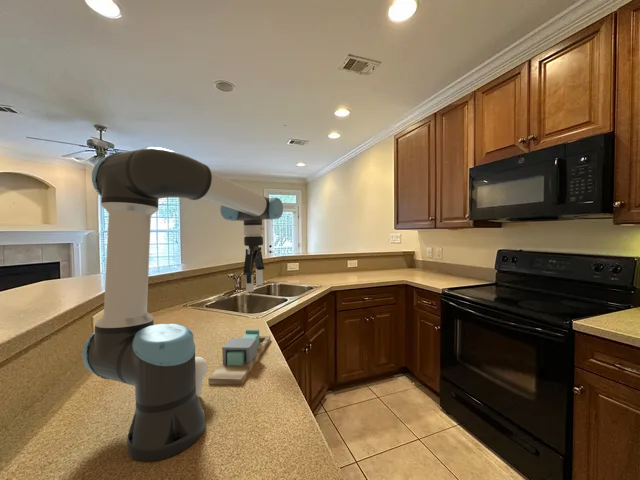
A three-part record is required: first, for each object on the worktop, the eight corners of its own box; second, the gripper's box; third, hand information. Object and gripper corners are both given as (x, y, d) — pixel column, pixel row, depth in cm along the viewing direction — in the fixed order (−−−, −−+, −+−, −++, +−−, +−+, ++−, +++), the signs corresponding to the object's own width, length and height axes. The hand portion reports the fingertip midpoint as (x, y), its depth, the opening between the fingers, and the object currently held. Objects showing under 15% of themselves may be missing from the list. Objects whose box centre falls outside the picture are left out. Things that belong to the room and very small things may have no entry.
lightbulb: (212, 397, 77) (211, 357, 77) (189, 407, 72) (188, 365, 72) (202, 388, 81) (201, 351, 81) (180, 398, 77) (178, 358, 76)
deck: (241, 384, 83) (241, 379, 83) (208, 383, 84) (208, 378, 84) (270, 340, 117) (270, 336, 117) (246, 340, 118) (246, 336, 118)
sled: (242, 365, 91) (242, 349, 91) (227, 365, 91) (227, 349, 91) (259, 342, 110) (259, 329, 110) (247, 342, 110) (246, 329, 110)
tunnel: (249, 364, 92) (249, 347, 92) (222, 364, 93) (222, 347, 92) (256, 354, 100) (256, 338, 100) (232, 353, 101) (231, 338, 100)
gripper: (253, 236, 102) (255, 294, 103) (269, 235, 127) (271, 282, 128) (233, 236, 103) (235, 294, 104) (253, 235, 128) (254, 282, 128)
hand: (255, 288), depth 116 cm, fingers open, 13 cm apart
